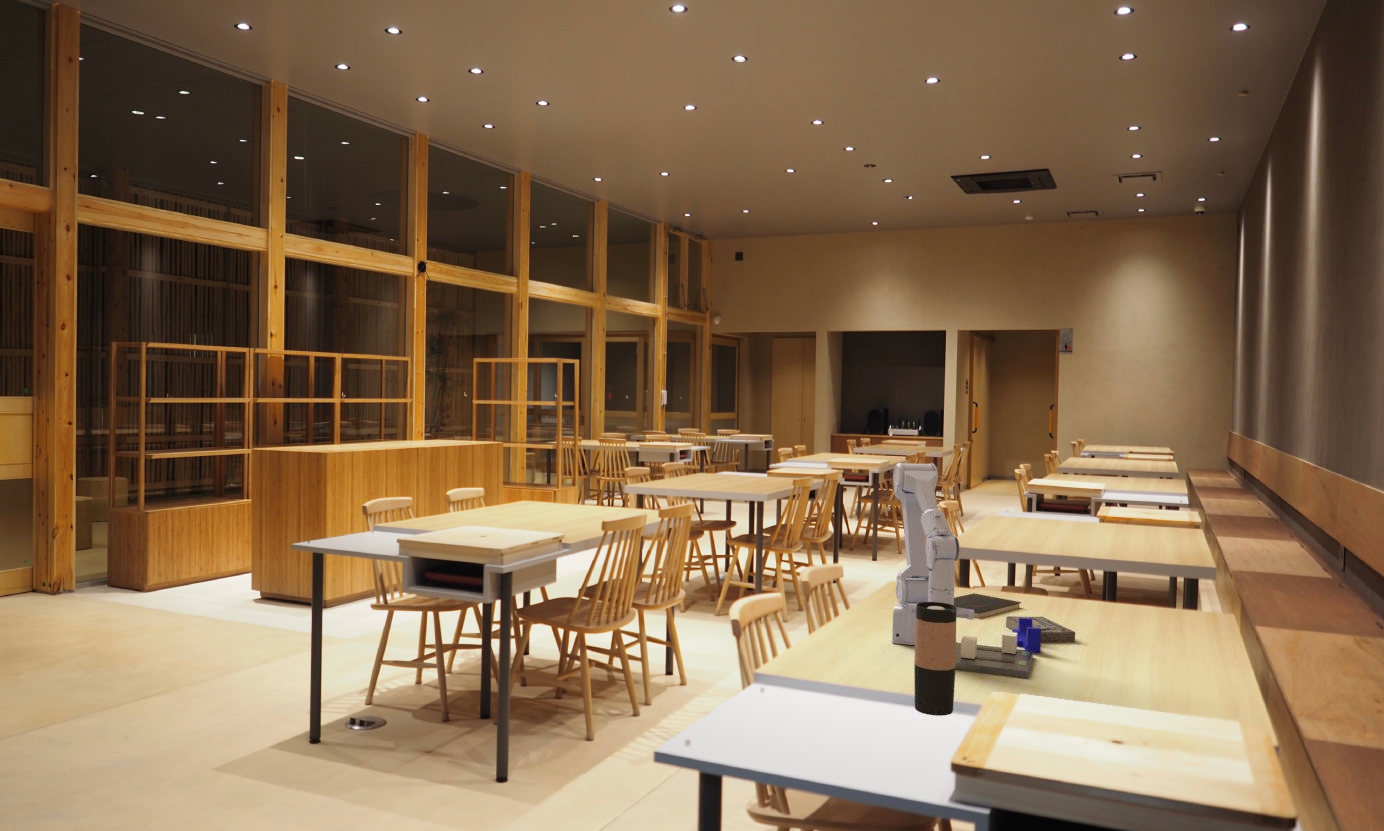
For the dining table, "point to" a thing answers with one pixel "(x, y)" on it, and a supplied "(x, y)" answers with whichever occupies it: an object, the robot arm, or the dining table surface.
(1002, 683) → the dining table surface
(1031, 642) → the cable clip
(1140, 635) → the dining table surface
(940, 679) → the travel mug
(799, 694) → the dining table surface
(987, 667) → the breaker panel
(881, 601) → the dining table surface
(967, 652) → the breaker
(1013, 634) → the on breaker
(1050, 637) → the grey flat block
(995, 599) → the hardcover book
